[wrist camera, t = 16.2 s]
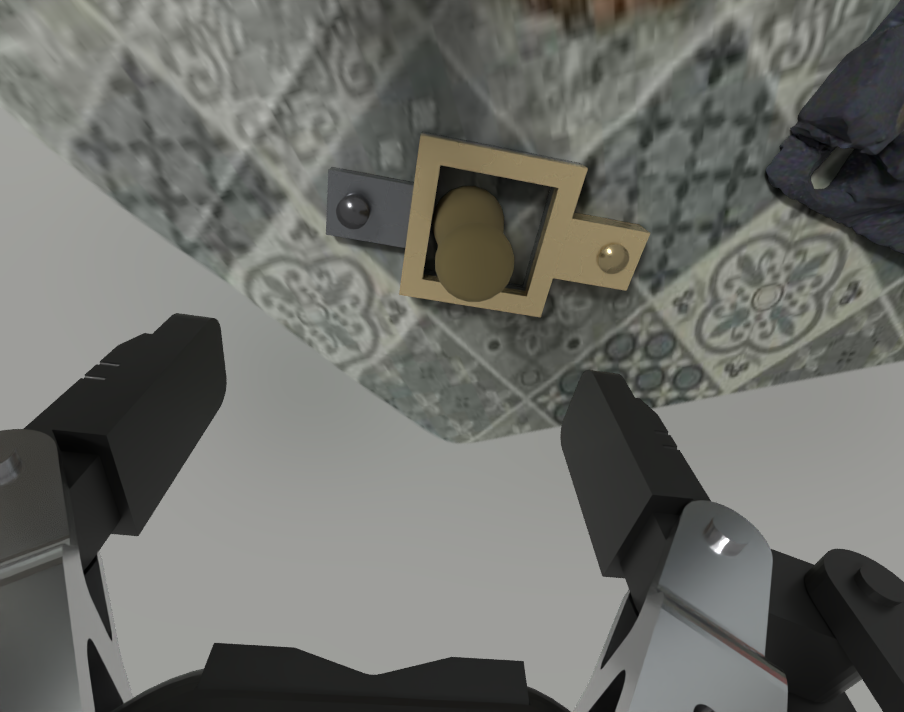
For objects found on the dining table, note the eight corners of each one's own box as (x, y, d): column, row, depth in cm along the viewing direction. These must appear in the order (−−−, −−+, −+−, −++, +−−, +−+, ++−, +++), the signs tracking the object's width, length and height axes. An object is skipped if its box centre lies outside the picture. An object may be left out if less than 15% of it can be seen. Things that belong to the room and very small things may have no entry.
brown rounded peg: (511, 192, 37) (535, 232, 27) (495, 263, 40) (512, 321, 30) (437, 179, 36) (435, 216, 27) (427, 253, 39) (421, 309, 30)
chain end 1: (334, 113, 33) (325, 116, 31) (579, 163, 35) (589, 169, 33) (327, 271, 40) (319, 284, 37) (535, 305, 42) (541, 319, 39)
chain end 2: (421, 131, 34) (420, 135, 32) (657, 178, 36) (672, 186, 34) (401, 283, 40) (398, 296, 38) (602, 316, 43) (612, 330, 40)
